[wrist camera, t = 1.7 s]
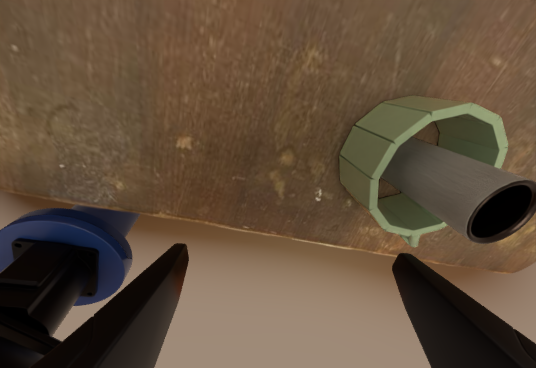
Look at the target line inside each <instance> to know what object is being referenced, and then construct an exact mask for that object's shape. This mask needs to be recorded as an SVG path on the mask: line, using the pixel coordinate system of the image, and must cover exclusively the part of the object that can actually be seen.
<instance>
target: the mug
mask: <svg viewBox="0 0 536 368" xmlns="http://www.w3.org/2000/svg"><path fill="white" fill-rule="evenodd" d="M432 121H435V123H436V125H437V127H438V130H439V132H440V135H439V140H438V145H437V146H438V147H441V148H444V149H447V150H449V151H452V152H455V153H458V154H461V155H463V156H466V157H469V158H472V159H475V160H477V161H480V162H483V163H486V164H488V165H491V166H494V167H497V168H500V169H501V167H502V164H503V161H504V158H505V155H506V153H507V150H508V147H507V146H508V142H507V138H506V134H505V130H504V126H503V122H502V118H501V117H500V116H499V115H497V114H495V113H493V112H491V111H489V110H487V109H485V108H483V107H481V106H479V105H477V104H475V103H470V102H462V101H454V100H447V99H439V98H431V97H423V96H414V95H411V96H406V97H402V98H397V99H393V100H388V101H384V102H382V103H380V104H379V105H377V106H376V107H375V108H374V109H373V110H371V111H370V112H369V113H368V114H367V115H365V116H364V117H363V118H362V119H360V120H359V121H358V122H357V123H356V124H355V126H353V127H352V129H351V131H350V133H349V135H348V137H347V139H346V141H345V143H344V145H343V147H342V149H341V151H340V155H339V167H340V181H341V184H342V185H343V186H344V187H345V189H346V190H347V191H348V192H349V194H350V195H351V196H352V198H353V199H354V200H355V201H356V202H357V203H358V204H359V205H360V206H361V207H362V208H363V209H364V210H365V211H366V212H367V213H368V214H369V215H370V217H371V218H372V219H373V220H374V221H375V222H376V223H377V224H378V225H379V226H380V227H381V228H382V229H383V230H385V231H387V232H391V233H396V234H399V235H400V236H401V237H402V238H403V239H404V240H405V241H406V242H407V243H408V244H409V245H410V246H411V247H417V246H418V244H419V240H420V234H424V233H428V232H432V231H436V230H440V229H441V228H444V227H446V226H447V225H448V224H446V223H445V222H443V221H442V220H440V219H439V218H438V217H436V216H435V215H433V214H432V213H431V212H429V211H428V210H426V209H425V208H424V207H422V206H421V205H419V204H418V203H416V202H415V201H414V200H412V199H411V198H409V197H408V196H407V195H405V194H404V193H402V192H401V193H400V194H397V195H393V196H388V197H384V198H380V199H378V186H379V178H380V177H381V175H382V173H383V172H384V170H385V168H386V167H387V165H388V163H389V162H390V160H391V158H392V157H393V155H394V153H395V152H396V150H397V148H398V147H399V146H400V145H401V144H403V143H404V142H405V141H407V140H408V139H409V138H410V137H412V136H413V135H414V134H416V133H417V132H418V131H420V130H421V129H422V128H424V127H425V126H426V125H428V124H429V123H430V122H432Z"/></svg>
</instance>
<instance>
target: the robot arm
mask: <svg viewBox="0 0 536 368" xmlns="http://www.w3.org/2000/svg"><path fill="white" fill-rule="evenodd" d="M11 247H12V253H13V259H14V261H13V262H12V263H11V264H9V265H8V266H7V267H6V268H5V269H4V270H2V271H1V272H0V368H154V367H155V364H156V361H157V358H158V356H159V353H160V350H161V348H162V345H163V342H164V339H165V337H166V334H167V331H168V329H169V326H170V323H171V320H172V318H173V315H174V312H175V309H176V307H177V304H178V301H179V297H180V293H181V289H182V286H183V282H184V277H185V274H186V270H187V266H188V261H189V257H188V250H187V246H186V244H182V243H177V244H174V245H173V246H172V247H171V248H170V249H168V251H166V252H165V253H164V254H163V255H162V256H161V257H159V258H158V259H157V260H156V261H155V262H154V263H153V264H151V265H150V266H149V267H148V268H147V269H146V270H144V271H143V272H142V273H141V274H140V275H139V276H138V277H136V278H135V279H134V280H133V281H132V282H131V283H130V284H128V285H127V286H126V287H125V288H124V289H123V290H122V291H121V292H119V293H118V294H117V295H116V296H115V297H114V298H112V299H111V300H110V301H109V302H108V303H107V304H106V305H104V307H102V308H101V309H100V310H99V311H98V312H97V313H95V314H94V317H91V318H89V319H88V320H87V321H86V322H85V323H84V324H82V325H81V326H80V327H79V328H78V329H77V330H76V331H75V332H73V333H72V334H71V335H70V336H68V337H67V338H66V339H65V340H64V341H60V340H58V339H56V338H54V337H52V336H53V334H54V333H55V331H56V330H57V328H58V327H59V325H60V324H61V322H62V321H63V320H64V318H65V317H66V315H67V314H68V312H69V311H70V309H71V308H72V306H73V305H74V304H75V302H76V301H77V299H78V298H79V296H82V297H94V296H95V295H96V293H97V289H98V267H99V251H98V250H97V249H96V248H91V247H83V246H76V245H69V244H62V243H54V242H47V241H40V240H33V239H25V238H17V239H16V240H14V241H13V242H12V243H11ZM92 253H93V254H92ZM392 271H393V274H394V277H395V280H396V283H397V286H398V289H399V292H400V295H401V298H402V301H403V303H404V306H405V309H406V311H407V314H408V316H409V318H410V320H411V323H412V325H413V327H414V329H415V332H416V334H417V336H418V338H419V341H420V343H421V345H422V347H423V350H424V352H425V354H426V356H427V359H428V361H429V363H430V365H431V368H536V344H535V343H534V342H532V341H531V340H530V339H528V338H527V337H525V336H524V335H523V334H521V333H520V332H519V331H517V330H515V329H513V327H512V326H510V325H509V324H507V323H506V322H505V321H503V320H502V319H500V318H499V317H498V316H496V315H495V314H493V313H492V312H491V311H489V310H488V309H486V308H485V307H484V306H482V305H481V304H480V303H478V302H477V301H475V300H474V299H473V298H471V297H470V296H468V295H467V294H466V293H464V292H463V291H461V290H460V289H459V288H457V287H456V286H455V285H453V284H452V283H450V282H449V281H448V280H446V279H445V278H443V277H442V276H441V275H439V274H438V273H436V272H435V271H434V270H432V269H431V268H430V267H428V266H427V265H425V264H424V263H423V262H421V261H420V260H418V259H417V258H416V257H414V256H413V255H411V254H408V253H400V254H399V255H398V256H397V258H396V260H395V262H394V264H393V266H392Z"/></svg>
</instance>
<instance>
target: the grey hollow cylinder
mask: <svg viewBox="0 0 536 368" xmlns="http://www.w3.org/2000/svg"><path fill="white" fill-rule="evenodd" d="M381 178H383V179H384V180H385V181H387V182H388V183H390V184H391V185H392V186H394V187H395V188H397V189H398V190H399V191H401V192H402V193H404V194H405V195H407V196H408V197H409V198H411V199H412V200H414V201H415V202H416V203H418V204H419V205H421V206H422V207H424V208H425V209H426V210H428V211H429V212H431V213H432V214H433V215H435V216H436V217H438V218H439V219H440V220H442V221H443V222H445V223H446V224H448V225H449V226H450V227H452V228H453V229H455V230H456V231H457V232H459V233H460V234H462V235H463V236H465V237H466V238H467V239H469V240H470V241H472V242H474V243H478V244H488V243H493V242H497V241H499V240H502V239H504V238H506V237H508V236H510V235H512V234H513V233H515V232H516V231H518V230H519V229H520V228H521V227H523V226H524V225H525V224H526V223H527V222H528V221H529V220H530V219H531V217H532V216H533V215H534V214H535V212H536V182H535V181H533V180H530V179H527V178H525V177H522V176H519V175H516V174H513V173H511V172H508V171H505V170H502V169H500V168H497V167H494V166H491V165H488V164H486V163H483V162H480V161H477V160H475V159H472V158H469V157H466V156H463V155H461V154H458V153H455V152H452V151H449V150H447V149H444V148H441V147H438V146H436V145H433V144H430V143H427V142H424V141H422V140H419V139H416V138H413V137H410V138H409V139H408V140H407V141H405V142H404V143H403V144H401V145H400V146H399V147H398V148H397V150H396V152H395V153H394V155H393V157H392V158H391V160H390V162H389V163H388V165H387V167H386V168H385V170H384V172H383V173H382V175H381Z"/></svg>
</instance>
